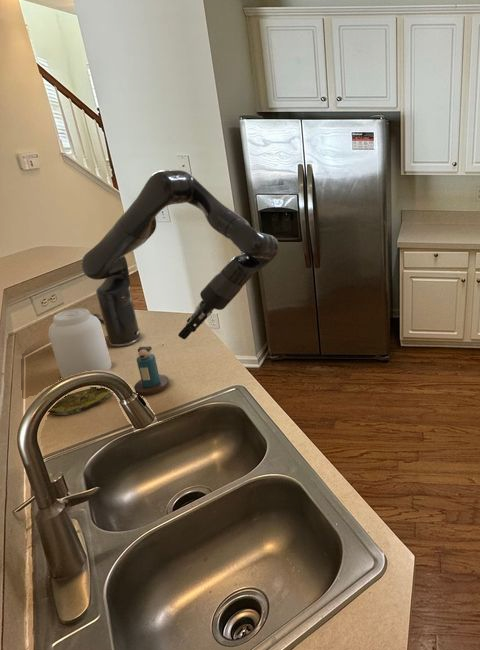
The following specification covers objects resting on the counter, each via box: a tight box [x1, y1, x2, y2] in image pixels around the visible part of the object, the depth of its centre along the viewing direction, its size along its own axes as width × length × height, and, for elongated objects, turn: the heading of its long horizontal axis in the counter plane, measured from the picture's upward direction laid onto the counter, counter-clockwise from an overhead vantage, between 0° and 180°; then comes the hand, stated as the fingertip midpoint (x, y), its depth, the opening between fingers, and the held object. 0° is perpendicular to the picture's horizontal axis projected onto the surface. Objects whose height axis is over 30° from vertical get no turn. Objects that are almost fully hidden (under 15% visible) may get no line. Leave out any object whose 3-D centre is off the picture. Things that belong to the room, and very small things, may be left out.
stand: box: [133, 374, 170, 397], centre depth 124 cm, size 9×9×2 cm
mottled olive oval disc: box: [47, 386, 114, 416], centre depth 117 cm, size 9×5×15 cm
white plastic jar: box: [47, 307, 112, 379], centre depth 127 cm, size 12×12×20 cm
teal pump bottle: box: [136, 346, 160, 387], centre depth 122 cm, size 5×4×11 cm
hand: (185, 330), depth 120 cm, fingers open, 8 cm apart
